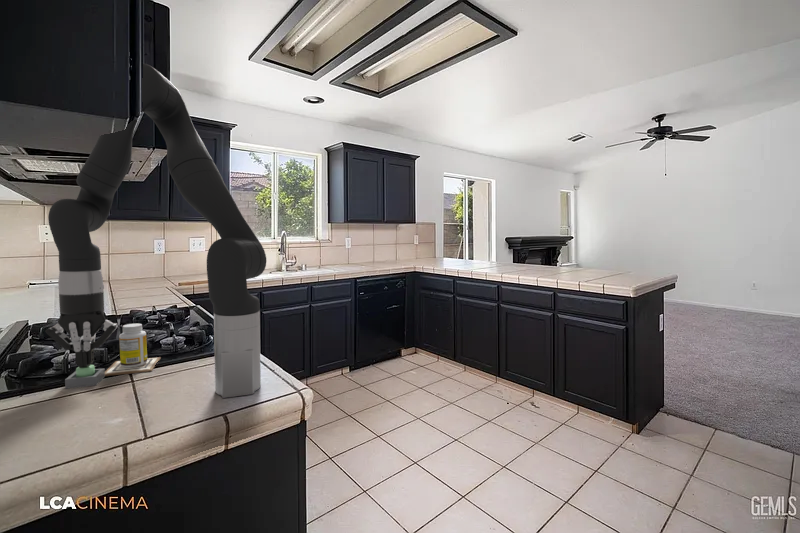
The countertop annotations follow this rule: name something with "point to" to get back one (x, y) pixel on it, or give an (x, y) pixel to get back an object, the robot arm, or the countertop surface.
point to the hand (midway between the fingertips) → (85, 366)
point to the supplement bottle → (133, 346)
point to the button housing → (84, 379)
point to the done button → (85, 371)
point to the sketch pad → (118, 369)
